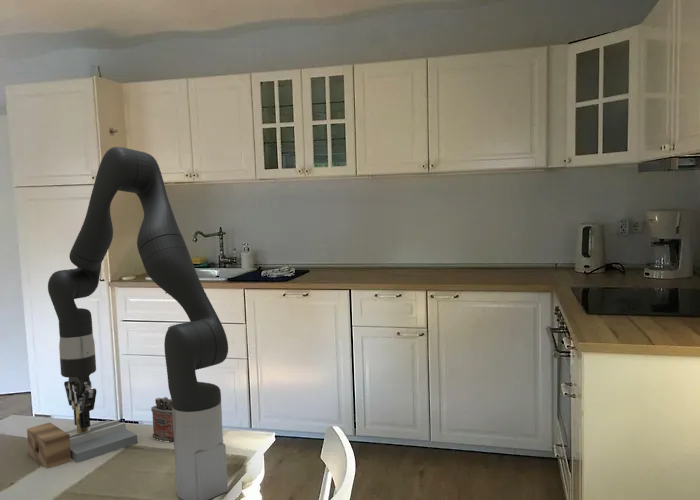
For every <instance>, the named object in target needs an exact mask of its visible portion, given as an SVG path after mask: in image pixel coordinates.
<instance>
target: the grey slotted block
mask: <svg viewBox="0 0 700 500" xmlns="http://www.w3.org/2000/svg"><path fill="white" fill-rule="evenodd" d="M88 428H89V429H90V430H91V432H89V433H86V434H83V435H79V436H76V437H72V438H70V450H71V460H73V461H74V462H75V463H80V462H83V461H86V460H90V459H93V458H96V457H99V456H103V455H106V454H108V453H111V452H114V451H117V450H120V449H123V448H127V447H129V446H133V445H136V444H139V443H138V435H137V434H136V433H135V432H132V431H130V430H128V429H127V426H126V422H121V423H120V419H114V420H109V419H107V420H102V421H100V422H95V423H93V424H90V426H89V427H88ZM76 431H77V428H74V429H72V430H68V431H65V432H66V433H68V434H69V433H72V432H76Z"/></svg>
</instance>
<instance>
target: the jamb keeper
mask: <svg viewBox="0 0 700 500" xmlns="http://www.w3.org/2000/svg"><path fill="white" fill-rule="evenodd" d="M26 432H27V447H28V455H29V456H30V457H32V459H35V460H36V461H37V462H38V463H39V464H41V465H42V466H43V467H44V468H46V469H51V468H54V467H56V466H57V467H58V466H60V465H63V464H66V463H70V462H72V459H71V450H70V436H69V434H68V433H66V432H67V431H65V430H63V429H62V428H60V427H58V426H56V425H55V424H54V423H52V422H47V423H43V424H39V425H35V426H32V427H28V428H26Z"/></svg>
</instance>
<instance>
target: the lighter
mask: <svg viewBox="0 0 700 500" xmlns="http://www.w3.org/2000/svg"><path fill="white" fill-rule="evenodd" d="M150 408H151V412H152V413H151V414H152V425H153V426H152V427H153V428H152V430H153V434H152V438H155V439H154V440H156V439H158V440H157V441H159V440H162V441H161V442H164V441H169V442H168V443H172V442H174V434H173V414H172V400H171V398H168V396H164V397H156V398H155V405H154V406H151V407H150Z"/></svg>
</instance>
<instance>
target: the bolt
mask: <svg viewBox="0 0 700 500" xmlns="http://www.w3.org/2000/svg"><path fill="white" fill-rule="evenodd" d="M86 406H87V405H86ZM76 421H77V426H76V429H77V431H76V432H72V433H69V436H70V438H72V437H76V436H79V435H83V434H86V433H89V432H91V430H90V429H89V428H88V427H87V428H84V429H81V428H80V426H79V412H78V405H77V406H76Z"/></svg>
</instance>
